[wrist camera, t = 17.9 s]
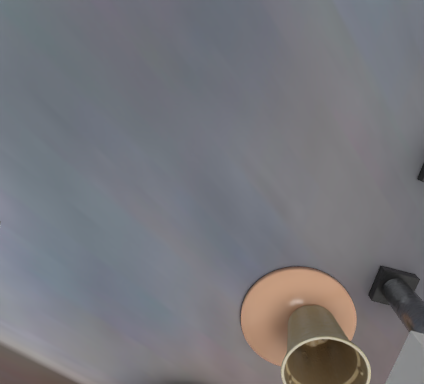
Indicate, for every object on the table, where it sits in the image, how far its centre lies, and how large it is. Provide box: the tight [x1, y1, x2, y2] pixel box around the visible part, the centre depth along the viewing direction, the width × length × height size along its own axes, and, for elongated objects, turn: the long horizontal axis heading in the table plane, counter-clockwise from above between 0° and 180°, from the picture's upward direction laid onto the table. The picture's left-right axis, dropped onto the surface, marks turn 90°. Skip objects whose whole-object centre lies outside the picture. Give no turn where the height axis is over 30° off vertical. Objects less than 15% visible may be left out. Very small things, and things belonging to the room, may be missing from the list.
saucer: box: [241, 266, 357, 366], centre depth 46 cm, size 15×15×1 cm
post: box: [369, 266, 424, 334], centre depth 37 cm, size 4×4×14 cm
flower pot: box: [281, 305, 371, 384], centre depth 41 cm, size 9×9×9 cm
